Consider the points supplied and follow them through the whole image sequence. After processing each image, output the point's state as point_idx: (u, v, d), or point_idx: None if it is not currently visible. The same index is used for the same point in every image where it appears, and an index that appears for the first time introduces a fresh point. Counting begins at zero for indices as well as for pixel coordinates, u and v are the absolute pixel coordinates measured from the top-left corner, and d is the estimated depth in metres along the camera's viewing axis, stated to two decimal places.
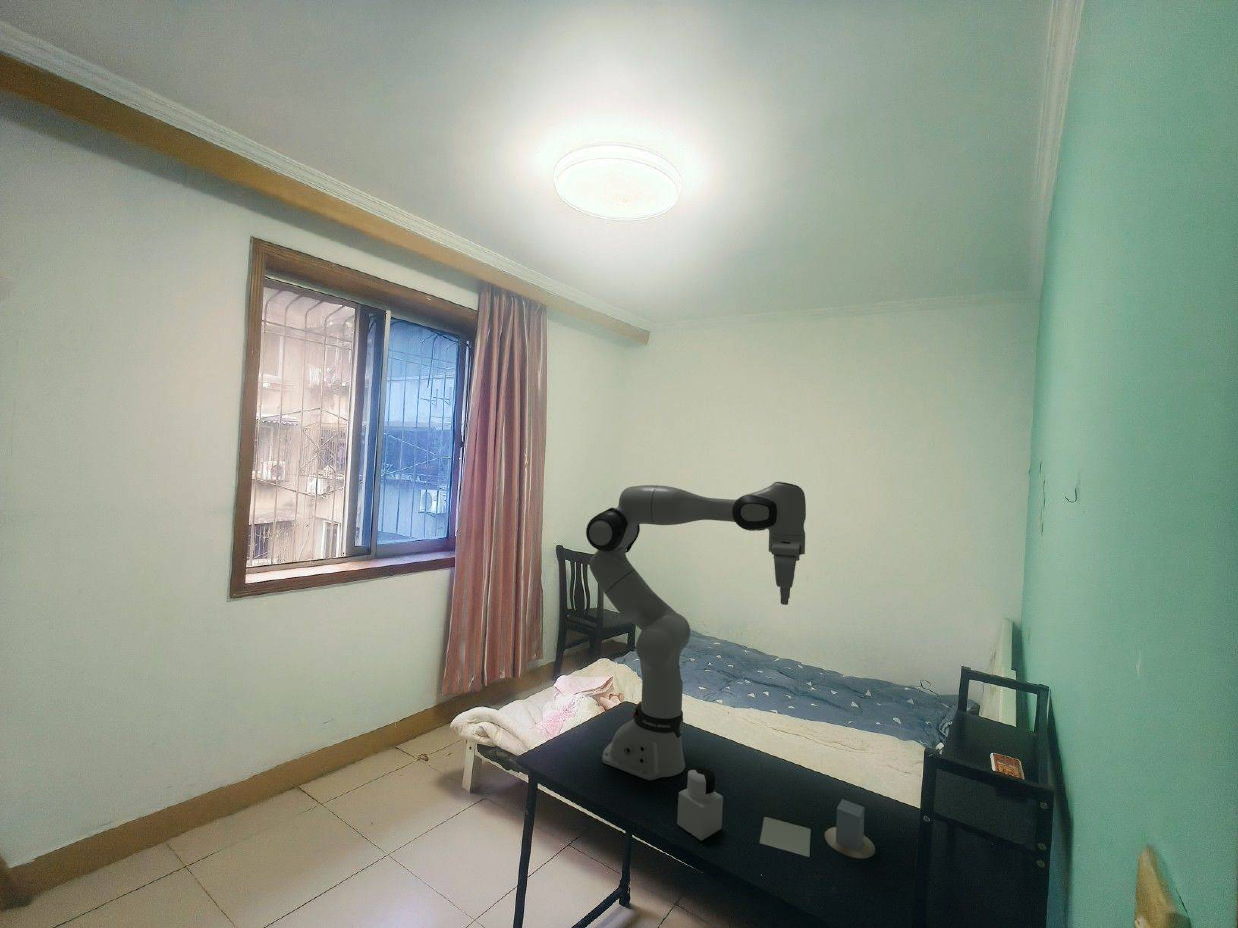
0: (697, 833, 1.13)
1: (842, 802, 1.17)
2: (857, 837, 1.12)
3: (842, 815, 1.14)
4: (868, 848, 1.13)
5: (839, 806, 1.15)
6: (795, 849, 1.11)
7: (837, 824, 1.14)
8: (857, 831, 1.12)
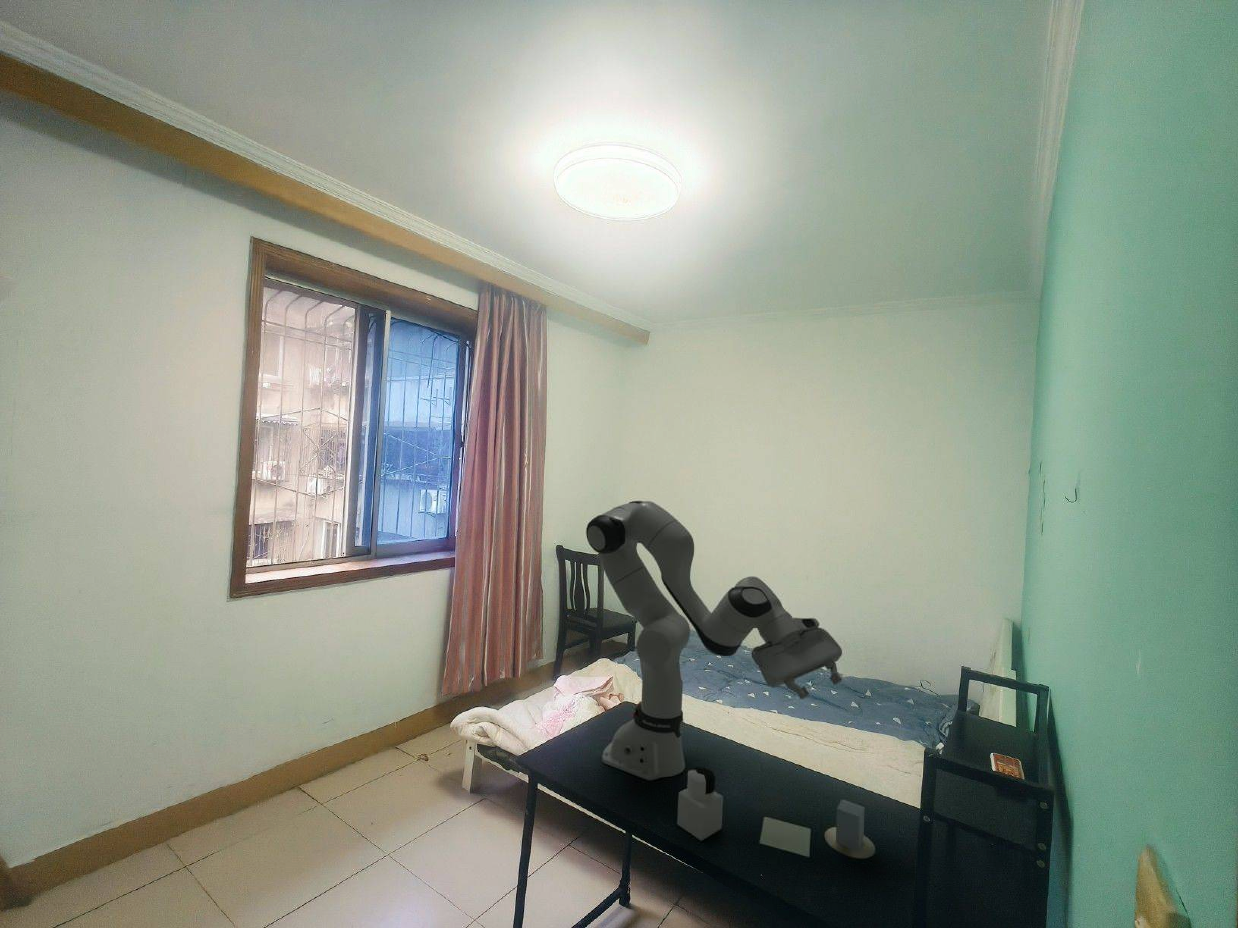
0: (697, 833, 1.13)
1: (842, 802, 1.17)
2: (857, 837, 1.12)
3: (842, 815, 1.14)
4: (868, 848, 1.13)
5: (839, 806, 1.15)
6: (795, 849, 1.11)
7: (837, 824, 1.14)
8: (857, 831, 1.12)
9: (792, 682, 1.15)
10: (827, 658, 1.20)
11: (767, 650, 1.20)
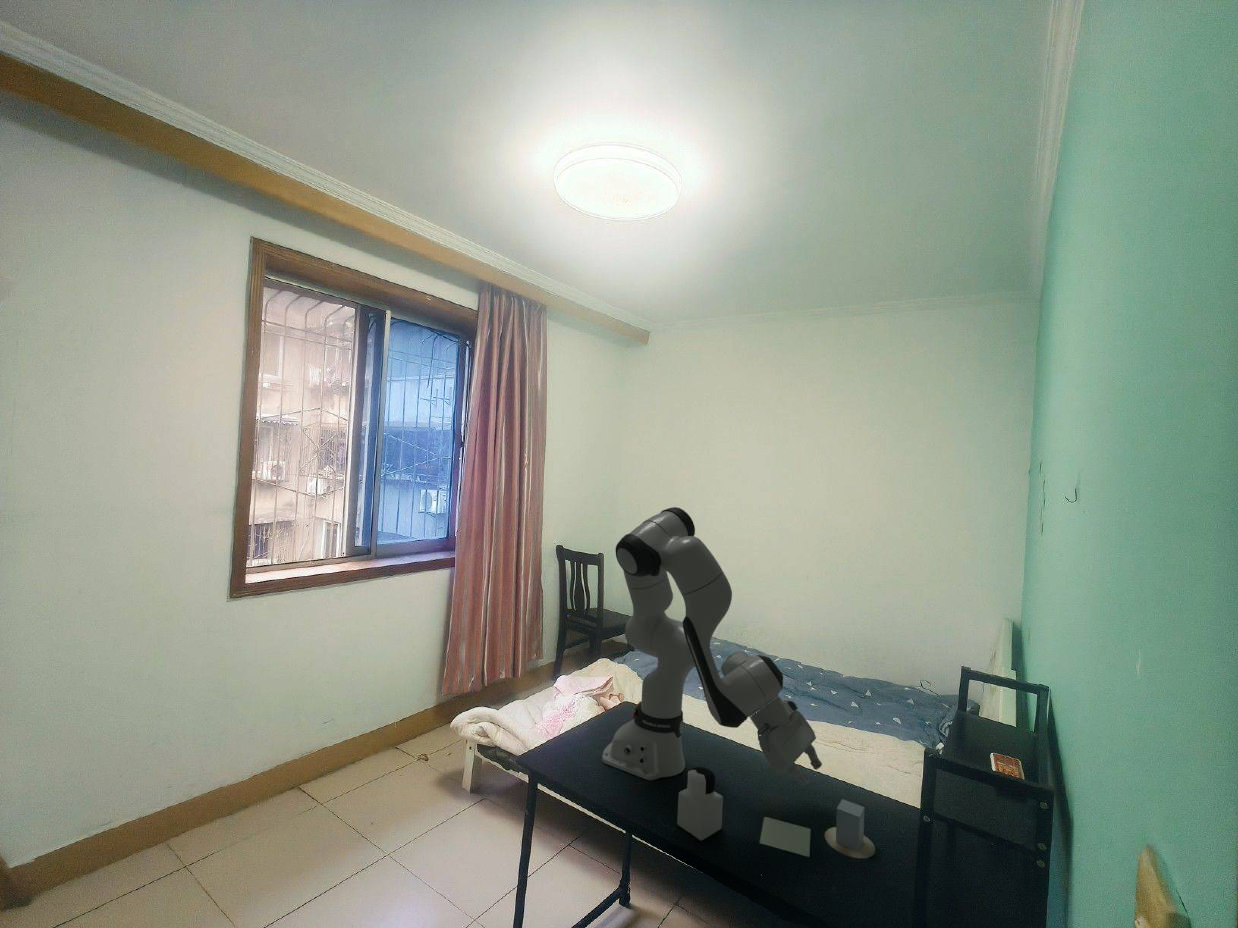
0: (697, 833, 1.13)
1: (842, 802, 1.17)
2: (857, 837, 1.12)
3: (842, 815, 1.14)
4: (868, 848, 1.13)
5: (839, 806, 1.15)
6: (795, 849, 1.11)
7: (837, 824, 1.14)
8: (857, 831, 1.12)
9: (796, 768, 1.16)
10: (810, 743, 1.25)
11: (773, 734, 1.18)
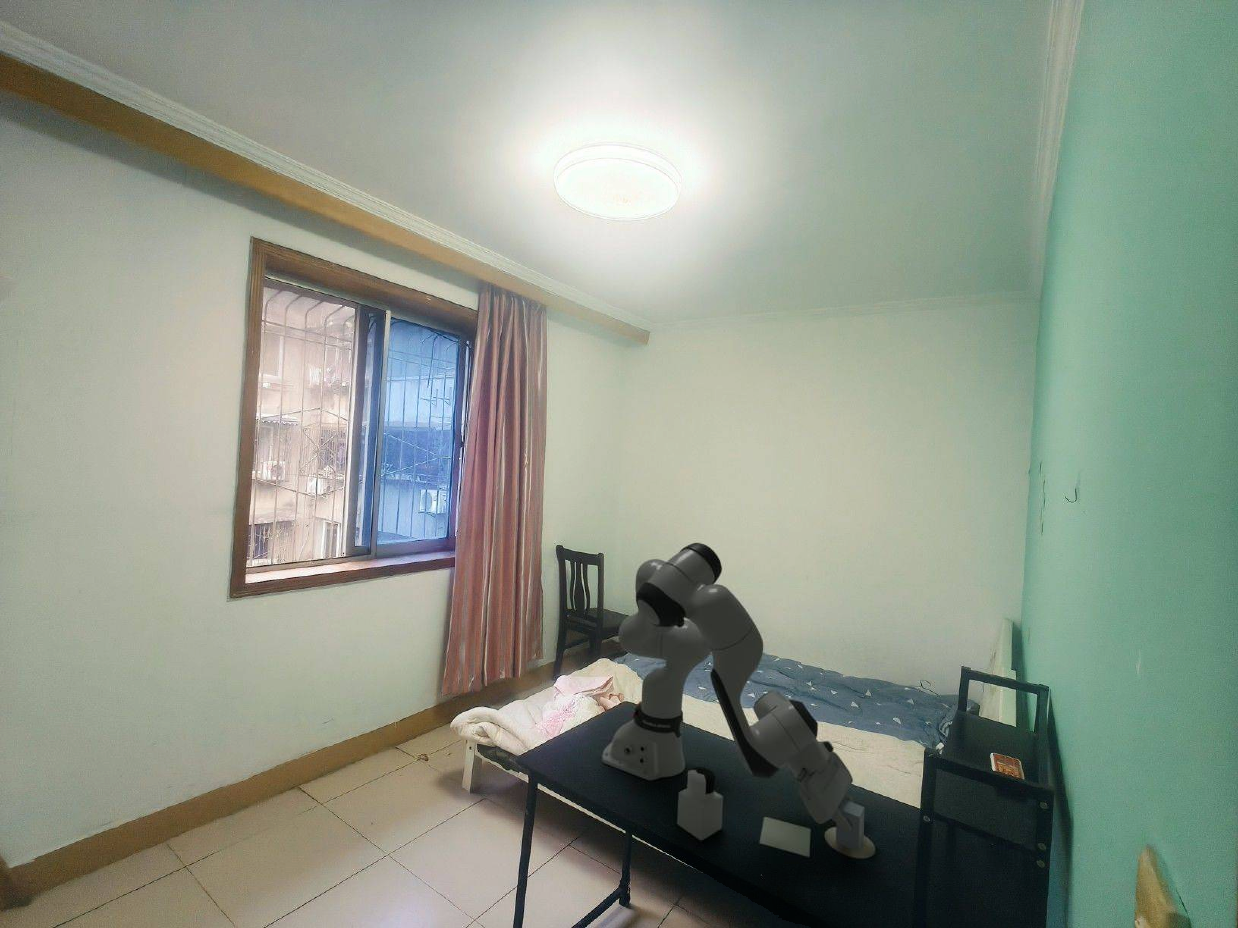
0: (697, 833, 1.13)
1: (842, 802, 1.17)
2: (857, 837, 1.12)
3: (842, 815, 1.14)
4: (868, 848, 1.13)
5: (839, 806, 1.15)
6: (795, 849, 1.11)
7: (837, 824, 1.14)
8: (857, 831, 1.12)
9: (840, 814, 1.12)
10: (848, 787, 1.20)
11: (812, 780, 1.13)
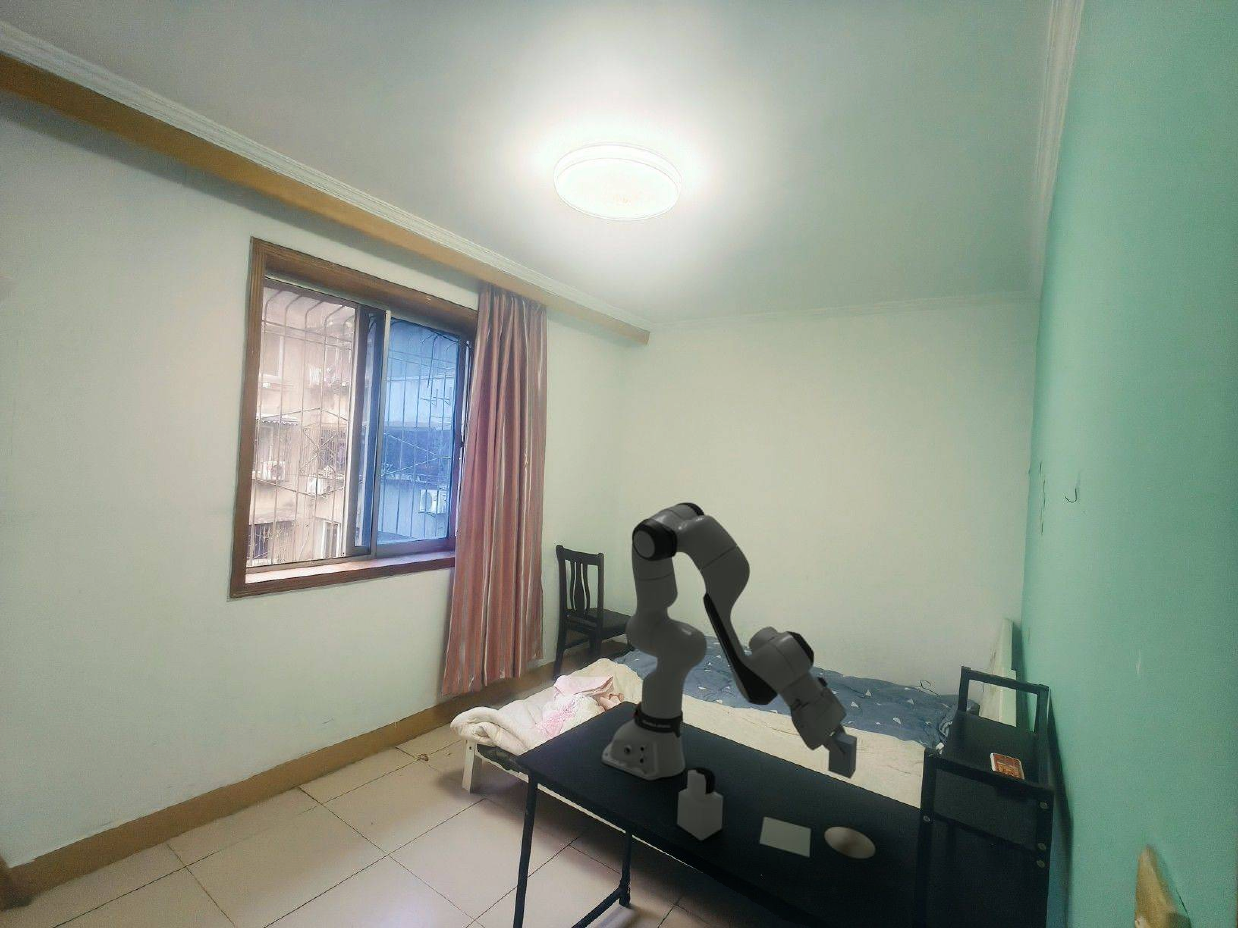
0: (697, 833, 1.13)
1: (835, 733, 1.18)
2: (849, 764, 1.13)
3: None
4: (868, 848, 1.13)
5: (832, 736, 1.17)
6: (795, 849, 1.11)
7: (830, 753, 1.16)
8: (849, 758, 1.14)
9: (832, 742, 1.14)
10: (841, 719, 1.22)
11: (805, 709, 1.15)
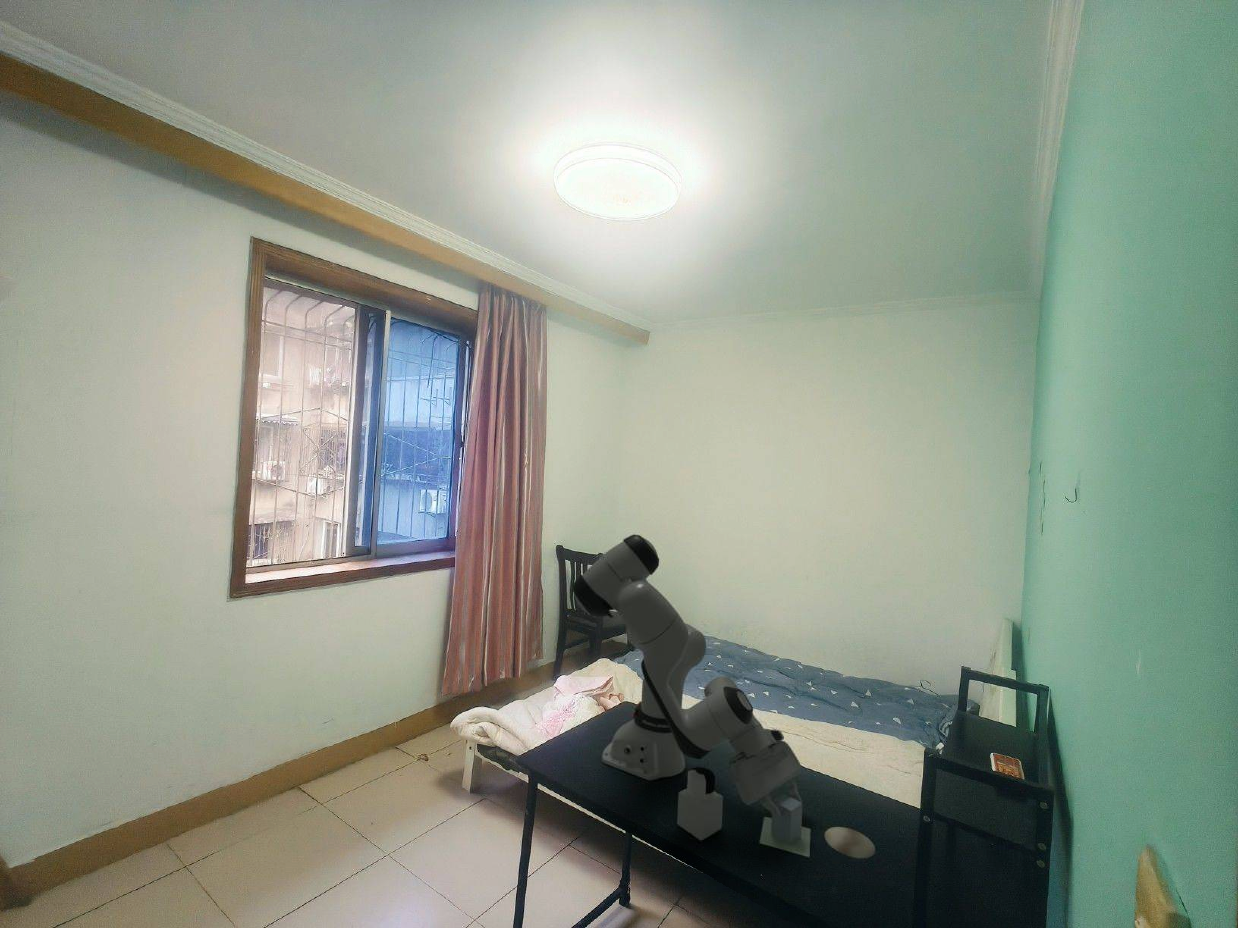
0: (697, 833, 1.13)
1: (781, 796, 1.18)
2: (789, 831, 1.13)
3: None
4: (868, 848, 1.13)
5: (776, 799, 1.17)
6: (795, 849, 1.11)
7: (772, 816, 1.16)
8: (789, 825, 1.13)
9: (769, 800, 1.13)
10: (792, 776, 1.21)
11: (745, 763, 1.16)
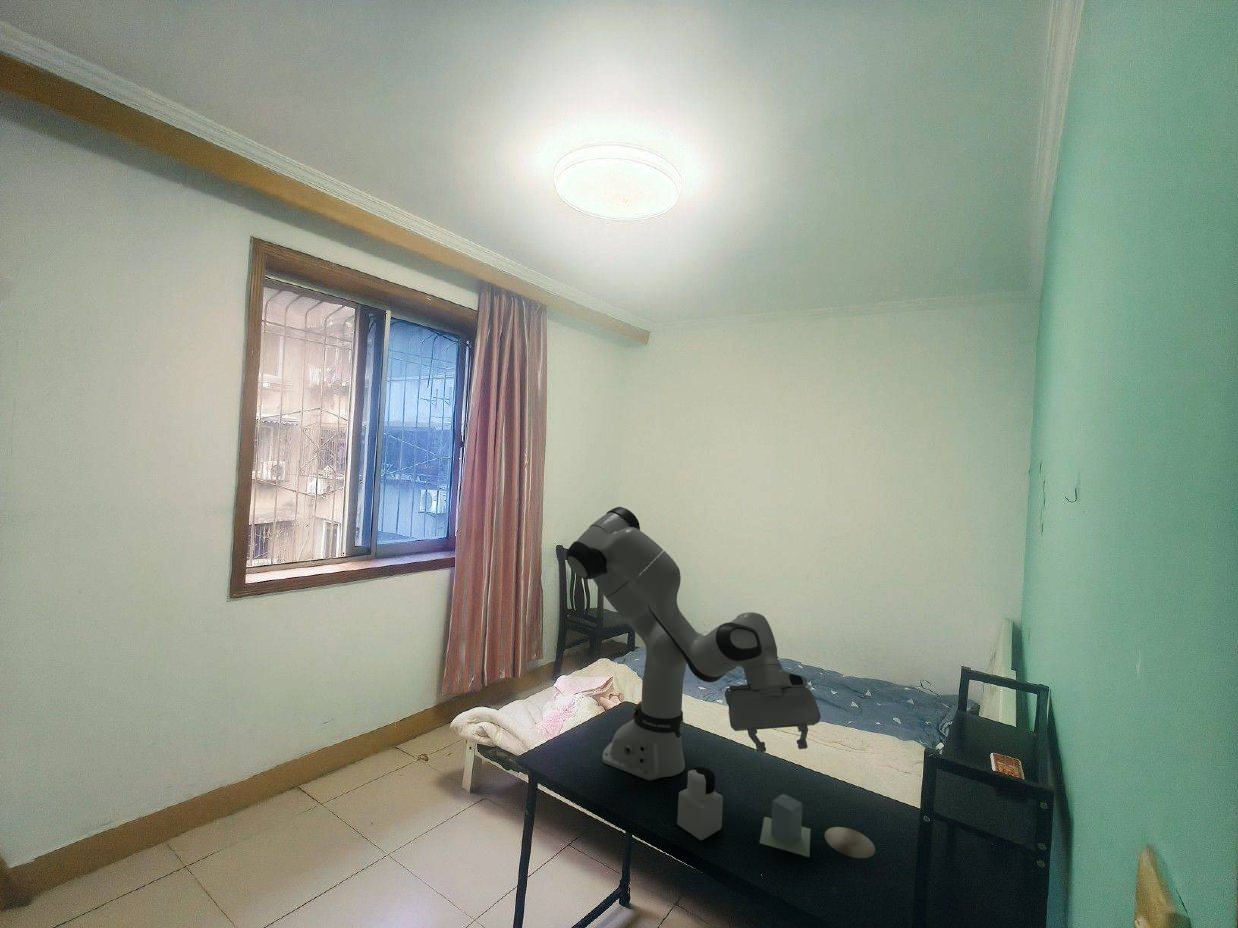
0: (697, 833, 1.13)
1: (781, 796, 1.18)
2: (789, 831, 1.13)
3: (777, 808, 1.15)
4: (868, 848, 1.13)
5: (776, 799, 1.17)
6: (795, 849, 1.11)
7: (772, 816, 1.16)
8: (789, 825, 1.13)
9: (753, 733, 1.15)
10: (800, 721, 1.17)
11: (741, 694, 1.19)
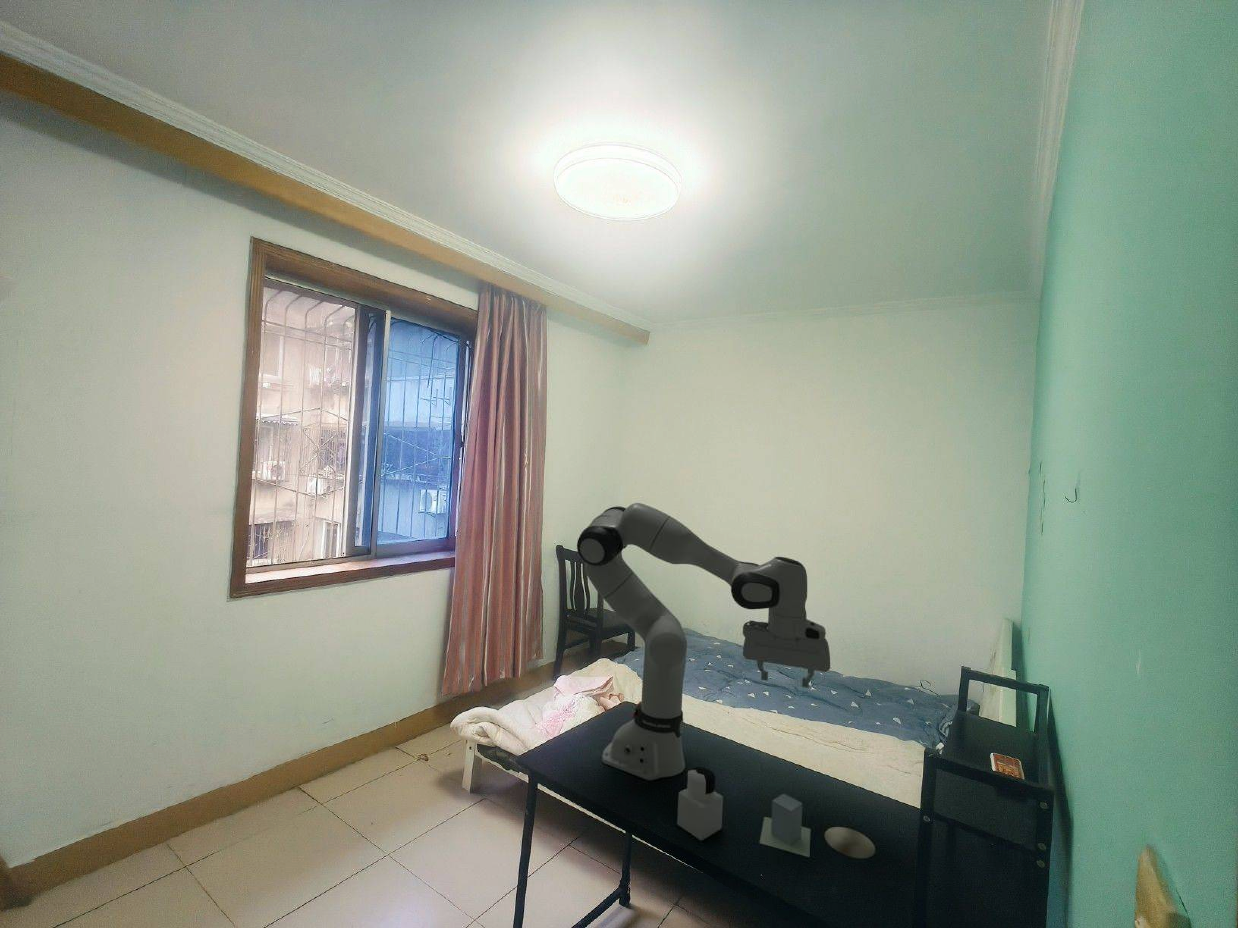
0: (697, 833, 1.13)
1: (781, 796, 1.18)
2: (789, 831, 1.13)
3: (777, 808, 1.15)
4: (868, 848, 1.13)
5: (776, 799, 1.17)
6: (795, 849, 1.11)
7: (772, 816, 1.16)
8: (789, 825, 1.13)
9: (759, 665, 1.29)
10: (807, 667, 1.25)
11: (755, 632, 1.29)
